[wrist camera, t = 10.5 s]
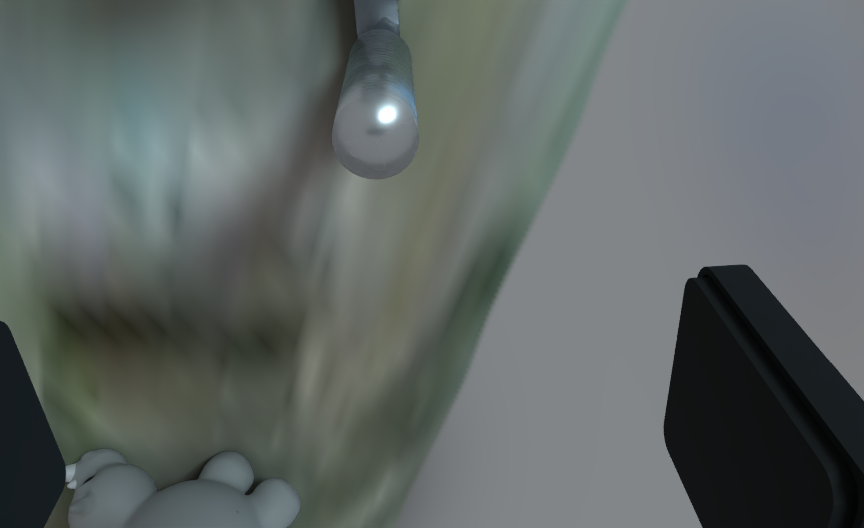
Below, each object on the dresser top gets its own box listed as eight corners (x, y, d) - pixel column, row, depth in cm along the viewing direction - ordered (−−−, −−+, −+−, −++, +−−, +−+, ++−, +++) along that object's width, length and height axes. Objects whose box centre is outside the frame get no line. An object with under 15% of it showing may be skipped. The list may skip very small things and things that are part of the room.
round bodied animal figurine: (137, 371, 39) (7, 458, 32) (325, 484, 38) (237, 604, 30) (109, 465, 42) (-15, 565, 35) (283, 573, 41) (193, 702, 33)
